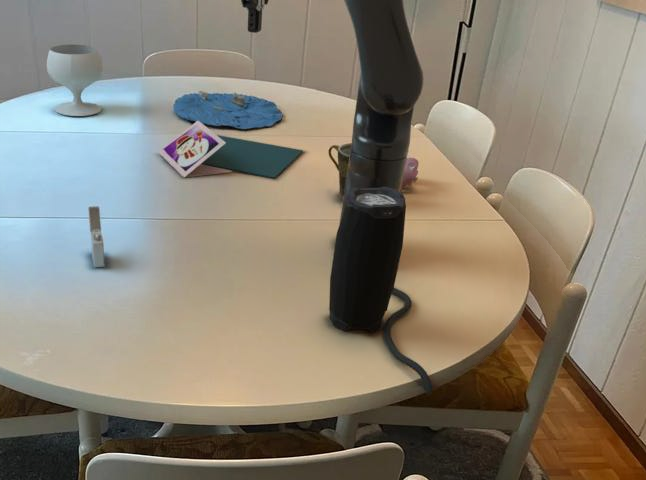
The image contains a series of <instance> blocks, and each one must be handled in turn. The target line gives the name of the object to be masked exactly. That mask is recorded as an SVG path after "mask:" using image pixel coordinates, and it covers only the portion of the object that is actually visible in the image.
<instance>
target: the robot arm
mask: <svg viewBox="0 0 646 480" xmlns="http://www.w3.org/2000/svg"><path fill="white" fill-rule="evenodd" d="M269 1H270V0H240V2H241V5H242V8H245V9H246V10H247V11H248V12H247V31H248V33H252V34H253V33H255V34H257V33H260V32H261V31H262V23H263V10H264V9H265V5H268V4H269ZM343 1H344V3H345V4H344V5H345V7H346V9H347V13H348V15H349V17H350V20H351V23H352V27H353V31H354V34H355V35H354V36H355V39H356V46H357V51H358V59H359V67H360V74H359V81H358V88H357V95H356V103H355V109H354V117H353V123H352V135H351V142H350V143H351V150H350V157H349V163H348V170H347V176H346V183H345V190H344V197H343V201H342V205H341V209H340V218H339V222H340V221H341V218H342V215H343V212H344V208H345V205H346V203H347V199H346V196H347V194H348V192H349V190H350V189H352V188H353V187H354V188H380V187H388V188H392V189H396V190H398V191H399V192H401V190H402V189H401V185H402V180H403V174H404V170H405V165H406V160H407V158H408V154H409V149H410V144H411V135H412V134H411V132H412V121H413V114H414V109H415V105H416V104H417V103H418V101H419V99H420V97H421V95H422V93H423V89H424V84H425V83H424V81H425V75H424V70H423V67H422V65H421V62H420V60H419V58H418V55H417V52H416V48H415V45H414V42H413V39H412V35H411V32H410V29H409V25H408V21H407V15H406V12H405V6H404V0H343ZM338 224H339V225H340V223H338ZM339 225H338V226H339ZM392 295H394V296H396V297H398V298H400V299H402V300H403V302H404V305H403V307H401V308H400V309H398V310H397V311H395V312H393V313H392V314H391V315H390V316H388V317H387V319H386V320H385V322H384V325H383V339H384V341H385V344H386V346H387V348H388V350H389V352H390V353H391V355H392V356H393V357H394V358H395V359H396V360H397V361H399V362H400V363H402V364H403V365H405V366H407V367H409V368H410V369H412V370H413V371H415V373H416V374H417V375H418V376H419V377H420V379H421V381H422V384H423V387H424V392H425V393H426V394H429V395H431V394H433V392H434V391H433V384H432V381H431V378H430V376H429V375H428V372H427V371H426V370H425V368H424V367H423V366H422V365H420V364H419V363H418V362H417V361H415V360H414V359H411V358H410V357H408V356H406V355H404V354H403V353H401V352H400V351H399V349H398V348H397V346H396V344H395V342H394V340H393V337H392V333H391V329H392V325H393V323H394V322H396V320H398V319H399V318H401V317H402V316H404V315H405V314H407V313H408V312H409V311H410V310H411V308H412V299H411V298H410V296H409V295H408V294H407V293H406V292H404V291H403V290H400V289H398V288H397V287H394V289H393V292H392Z"/></svg>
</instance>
